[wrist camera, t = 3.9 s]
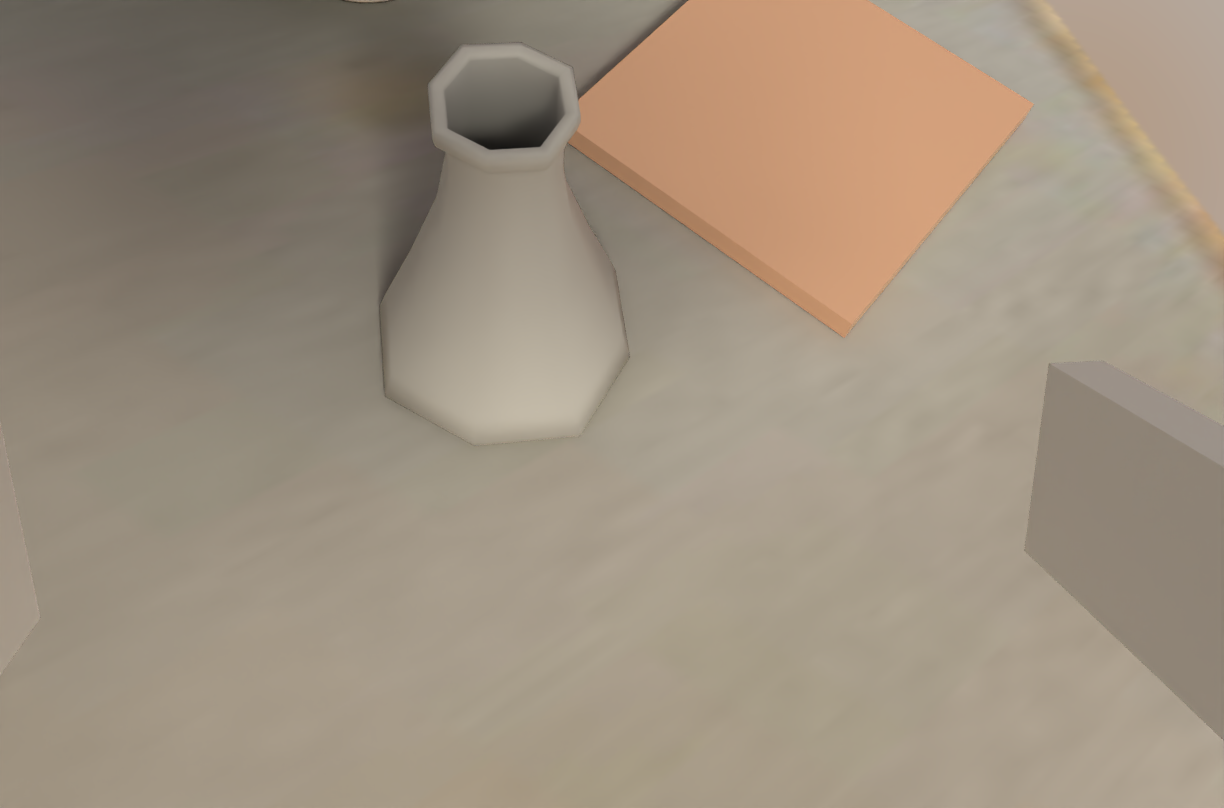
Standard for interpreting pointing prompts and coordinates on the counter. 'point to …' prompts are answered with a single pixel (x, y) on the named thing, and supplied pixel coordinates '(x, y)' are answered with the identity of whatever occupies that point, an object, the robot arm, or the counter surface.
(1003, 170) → the counter surface
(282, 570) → the counter surface
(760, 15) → the coaster
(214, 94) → the counter surface
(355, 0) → the lidded jar
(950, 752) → the counter surface
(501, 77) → the flask
